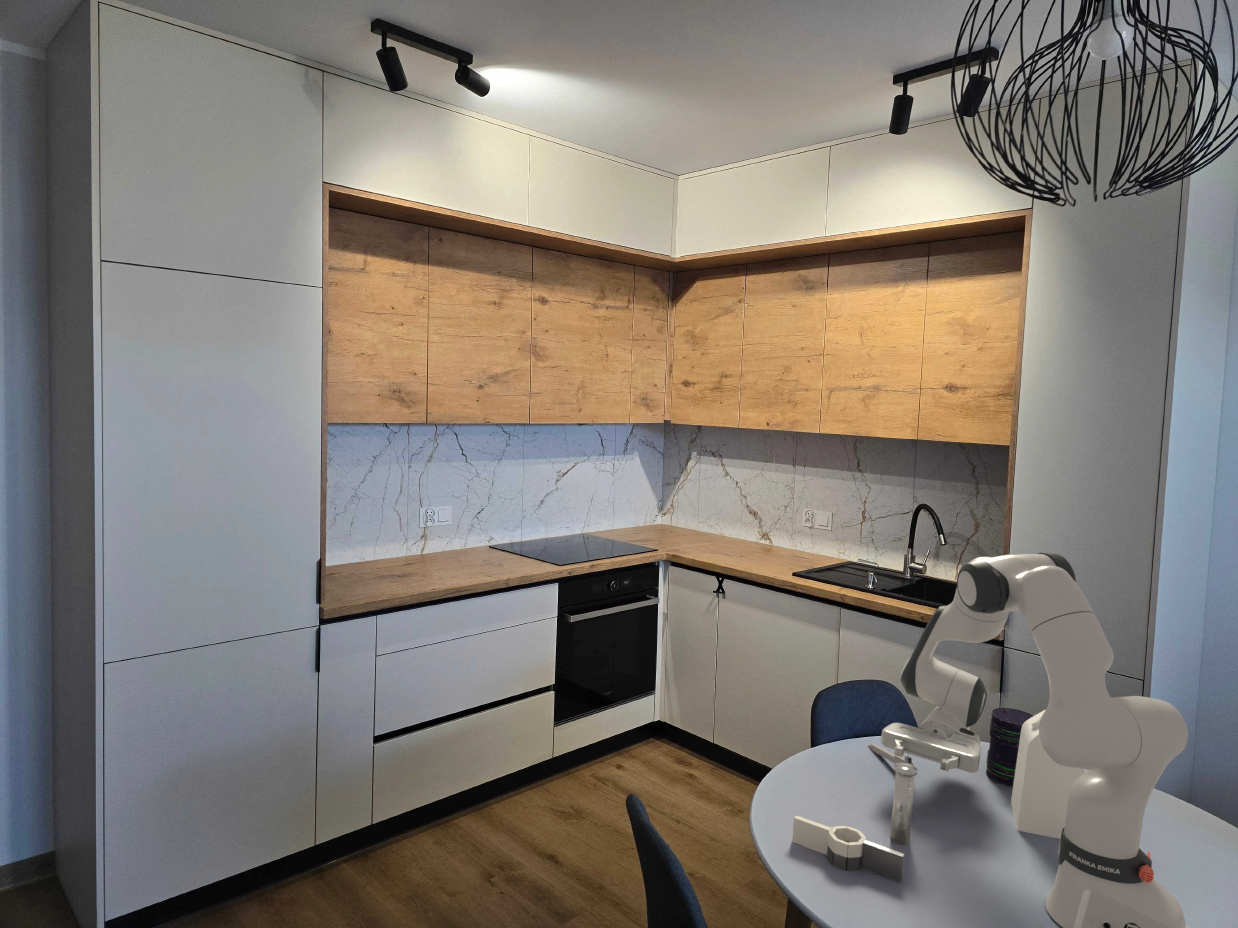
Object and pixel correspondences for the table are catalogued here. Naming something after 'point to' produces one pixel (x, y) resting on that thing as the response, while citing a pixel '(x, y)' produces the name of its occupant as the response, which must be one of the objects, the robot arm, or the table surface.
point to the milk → (1040, 785)
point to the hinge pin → (902, 803)
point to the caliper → (890, 755)
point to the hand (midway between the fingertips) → (920, 759)
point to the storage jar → (1004, 744)
